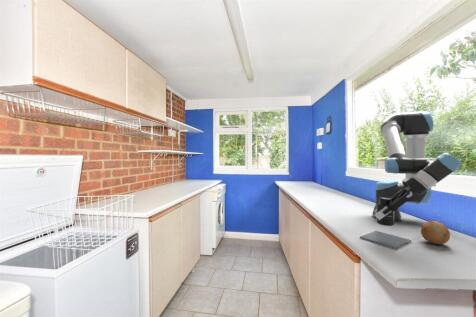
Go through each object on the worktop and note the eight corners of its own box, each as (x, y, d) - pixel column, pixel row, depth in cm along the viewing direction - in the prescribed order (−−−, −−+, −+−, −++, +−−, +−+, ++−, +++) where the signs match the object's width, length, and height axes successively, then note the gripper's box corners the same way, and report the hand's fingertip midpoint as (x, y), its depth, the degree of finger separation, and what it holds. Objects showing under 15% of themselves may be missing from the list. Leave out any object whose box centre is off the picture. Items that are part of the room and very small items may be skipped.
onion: (438, 249, 91) (438, 225, 91) (414, 240, 101) (415, 218, 101) (456, 247, 93) (456, 224, 93) (431, 238, 103) (431, 217, 103)
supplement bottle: (388, 227, 97) (388, 200, 97) (373, 222, 103) (373, 197, 103) (397, 225, 99) (397, 198, 99) (382, 221, 106) (382, 196, 106)
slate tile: (376, 232, 112) (376, 230, 112) (411, 241, 99) (411, 240, 99) (359, 238, 104) (359, 236, 104) (395, 249, 91) (395, 247, 91)
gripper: (435, 192, 85) (385, 228, 93) (421, 186, 103) (380, 216, 110) (418, 178, 88) (371, 214, 95) (407, 175, 105) (368, 205, 113)
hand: (376, 215), depth 103 cm, fingers closed on supplement bottle, 7 cm apart
